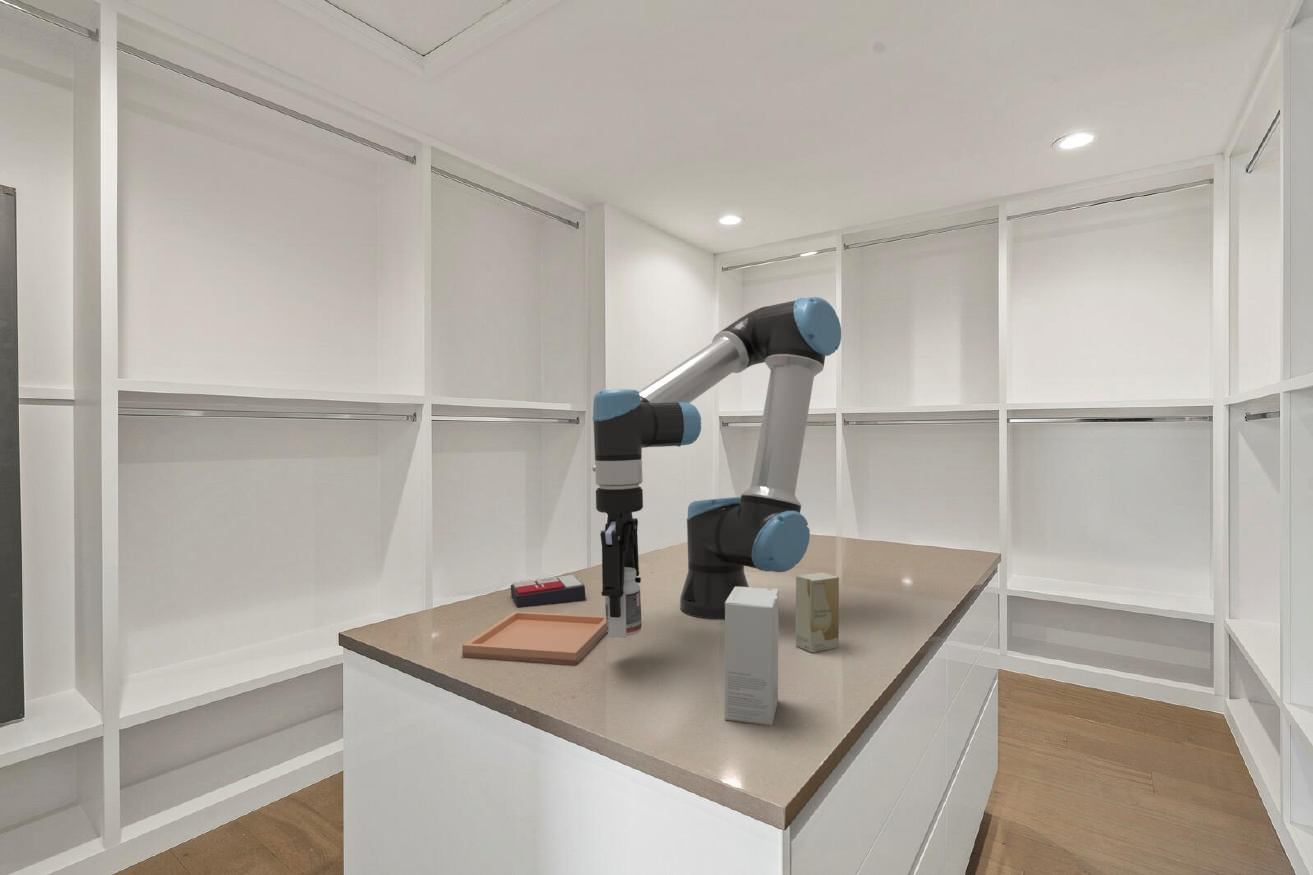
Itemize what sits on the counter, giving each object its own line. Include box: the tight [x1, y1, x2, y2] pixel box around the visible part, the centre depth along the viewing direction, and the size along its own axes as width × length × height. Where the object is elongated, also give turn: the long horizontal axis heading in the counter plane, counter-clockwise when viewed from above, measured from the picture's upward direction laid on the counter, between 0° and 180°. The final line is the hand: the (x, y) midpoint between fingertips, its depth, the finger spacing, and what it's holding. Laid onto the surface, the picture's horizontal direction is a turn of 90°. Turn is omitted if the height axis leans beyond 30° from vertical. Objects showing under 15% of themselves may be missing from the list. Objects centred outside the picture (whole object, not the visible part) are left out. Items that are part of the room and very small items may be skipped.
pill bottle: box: [604, 567, 643, 637], centre depth 102 cm, size 6×6×10 cm
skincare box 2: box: [795, 572, 840, 653], centre depth 109 cm, size 6×4×12 cm
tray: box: [461, 610, 608, 666], centre depth 114 cm, size 20×20×2 cm
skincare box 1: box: [724, 586, 780, 726], centre depth 85 cm, size 8×7×16 cm
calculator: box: [510, 574, 587, 609], centre depth 143 cm, size 11×4×15 cm
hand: (623, 629), depth 102 cm, fingers closed on pill bottle, 6 cm apart
